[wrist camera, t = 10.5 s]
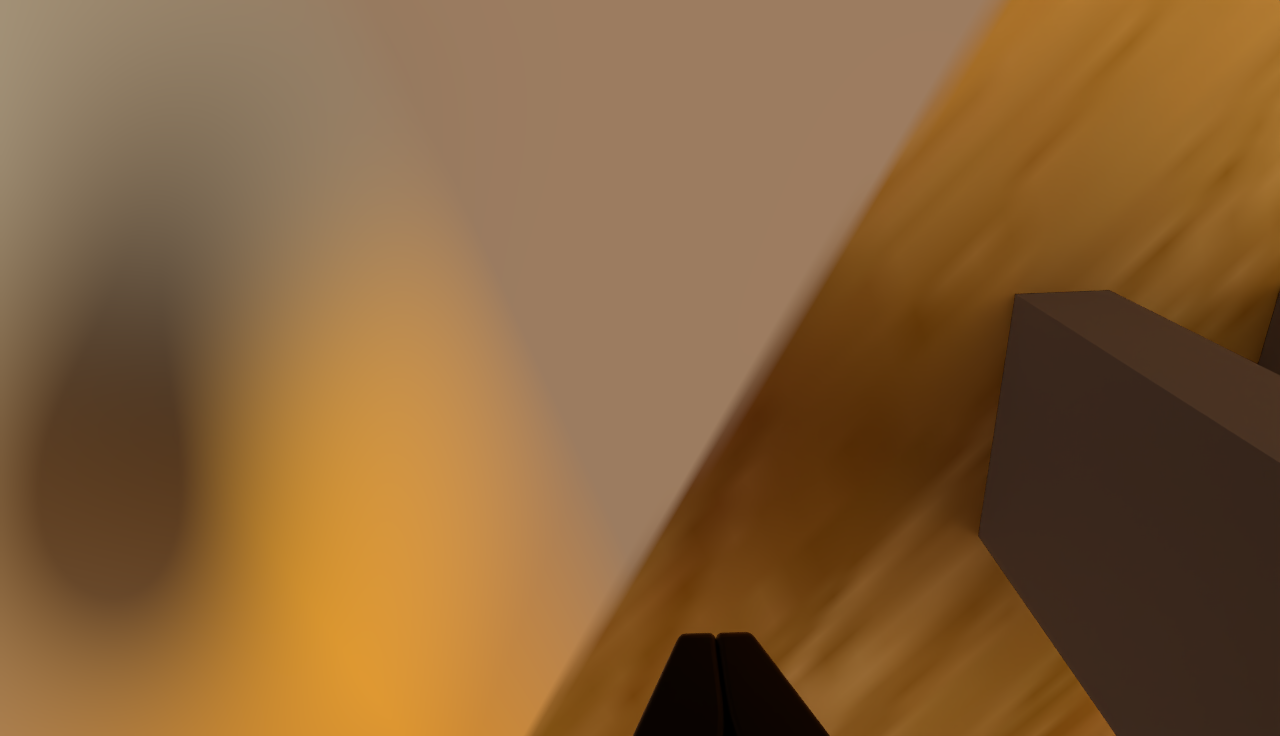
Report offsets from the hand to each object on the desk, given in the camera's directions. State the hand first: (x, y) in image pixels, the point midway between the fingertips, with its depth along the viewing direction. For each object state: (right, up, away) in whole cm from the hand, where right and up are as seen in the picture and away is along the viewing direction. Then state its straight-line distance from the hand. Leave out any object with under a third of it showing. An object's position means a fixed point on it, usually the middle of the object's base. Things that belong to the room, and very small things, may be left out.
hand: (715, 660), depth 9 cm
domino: (+6, +2, +5) cm, 9 cm away
